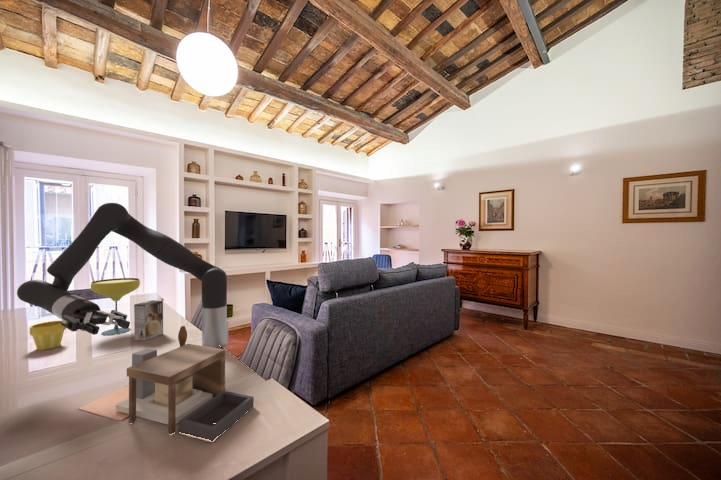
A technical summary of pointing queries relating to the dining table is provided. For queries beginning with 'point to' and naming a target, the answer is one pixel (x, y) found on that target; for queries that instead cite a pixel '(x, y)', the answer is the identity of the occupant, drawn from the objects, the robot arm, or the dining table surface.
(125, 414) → the pad
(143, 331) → the coffee box
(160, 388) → the birch block
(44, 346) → the plant pot
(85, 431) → the dining table surface
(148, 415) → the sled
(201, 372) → the small wooden table
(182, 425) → the pit trap
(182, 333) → the hand bell
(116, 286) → the cocktail glass
